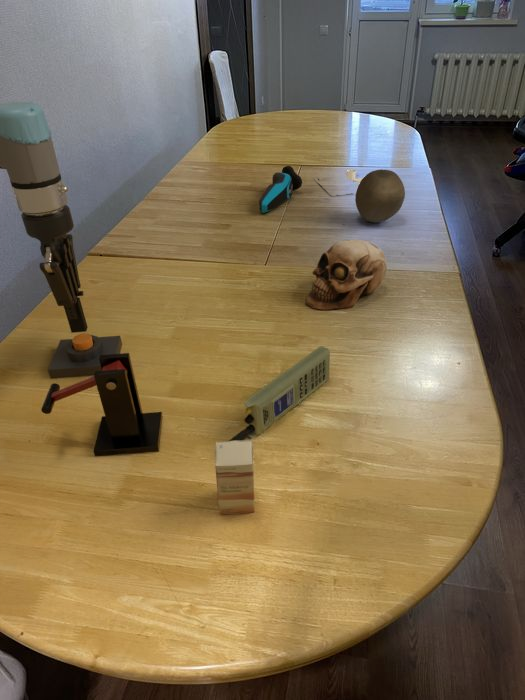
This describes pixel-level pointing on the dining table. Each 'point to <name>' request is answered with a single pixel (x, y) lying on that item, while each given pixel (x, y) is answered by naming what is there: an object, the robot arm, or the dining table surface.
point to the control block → (82, 357)
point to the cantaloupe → (379, 195)
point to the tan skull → (346, 274)
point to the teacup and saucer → (352, 176)
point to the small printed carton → (235, 476)
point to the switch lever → (73, 388)
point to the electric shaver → (280, 189)
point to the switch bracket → (123, 412)
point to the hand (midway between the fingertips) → (79, 329)
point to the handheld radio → (285, 392)
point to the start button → (82, 342)
